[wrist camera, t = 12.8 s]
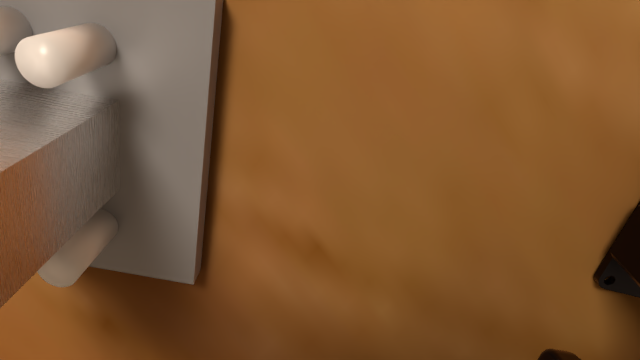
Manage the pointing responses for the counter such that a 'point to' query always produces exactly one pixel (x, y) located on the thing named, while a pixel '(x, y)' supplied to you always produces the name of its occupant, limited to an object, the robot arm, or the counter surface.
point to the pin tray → (130, 120)
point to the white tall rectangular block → (50, 172)
